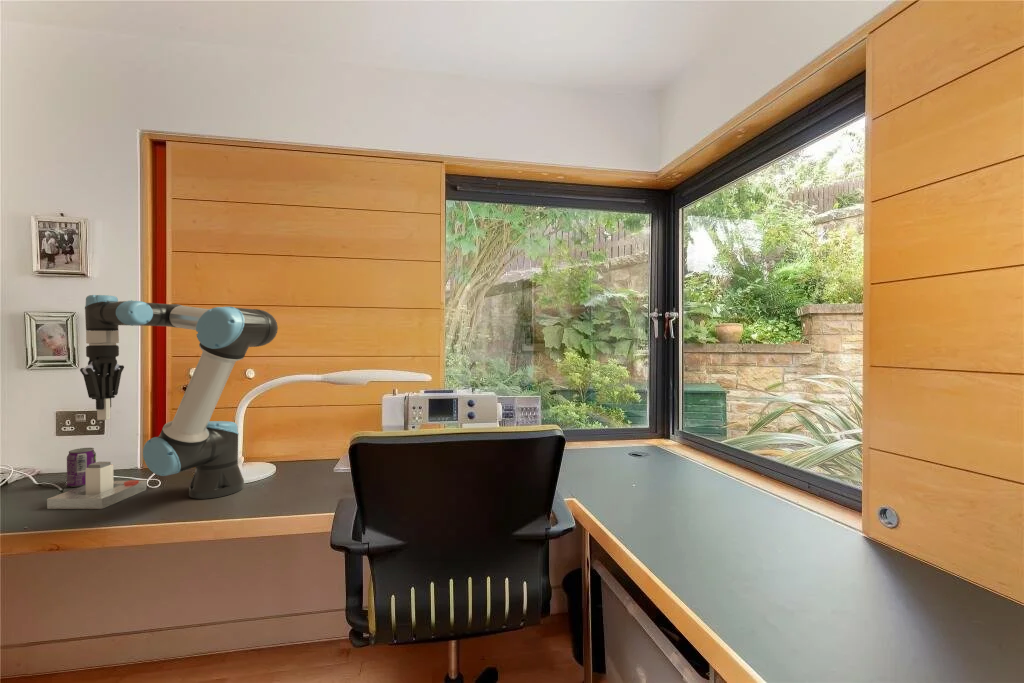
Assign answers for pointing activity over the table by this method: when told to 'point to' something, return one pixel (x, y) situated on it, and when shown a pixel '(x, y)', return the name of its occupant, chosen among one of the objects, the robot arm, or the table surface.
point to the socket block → (96, 496)
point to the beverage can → (79, 465)
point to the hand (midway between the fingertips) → (103, 419)
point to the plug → (99, 478)
